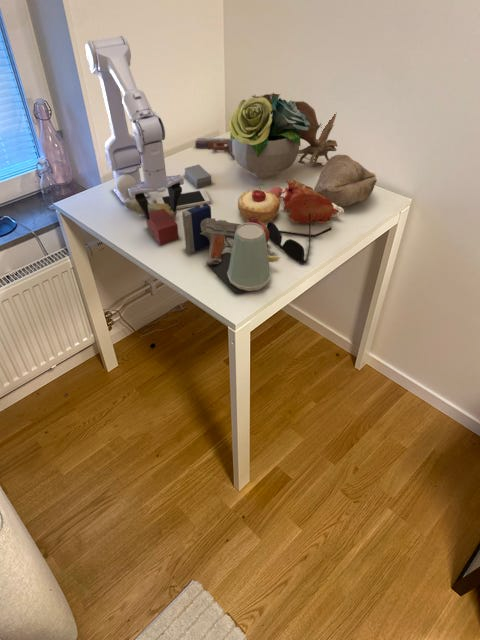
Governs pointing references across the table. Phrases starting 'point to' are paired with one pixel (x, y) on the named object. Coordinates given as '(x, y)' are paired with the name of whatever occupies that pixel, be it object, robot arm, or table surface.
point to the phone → (225, 272)
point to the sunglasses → (291, 241)
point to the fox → (273, 258)
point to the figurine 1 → (135, 207)
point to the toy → (271, 253)
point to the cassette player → (195, 227)
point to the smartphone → (187, 199)
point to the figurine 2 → (278, 192)
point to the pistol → (217, 237)
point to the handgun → (215, 144)
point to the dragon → (316, 146)
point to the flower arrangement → (266, 134)
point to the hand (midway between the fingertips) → (160, 214)
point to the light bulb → (125, 185)
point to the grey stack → (198, 176)
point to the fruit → (255, 220)
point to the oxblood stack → (163, 236)
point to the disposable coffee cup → (249, 258)
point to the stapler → (338, 210)
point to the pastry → (258, 205)
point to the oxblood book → (162, 222)
